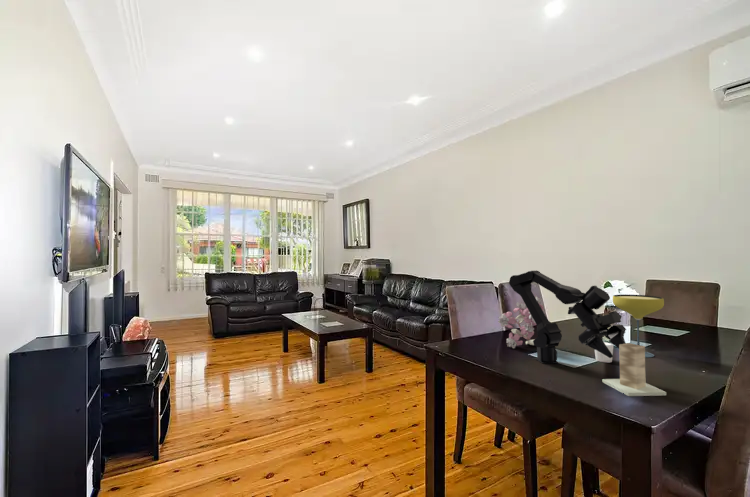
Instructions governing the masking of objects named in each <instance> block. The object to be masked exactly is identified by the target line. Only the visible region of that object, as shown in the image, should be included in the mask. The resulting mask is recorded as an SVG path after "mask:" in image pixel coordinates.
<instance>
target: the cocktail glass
mask: <svg viewBox="0 0 750 497" xmlns="http://www.w3.org/2000/svg"><path fill="white" fill-rule="evenodd" d="M612 304H613V305H614V306H615V307H616V308H618V309H620V310H622V311H624V312H626V313H627V314H629V315H631V316H632V317H633V318H634V320H636V325H637V326H636V327H637V328H636V332H637V335H636V337H637V339H636V345H640V323H639V322H640V321H641V320H643V318H644V317H645V316H648V315H649V314H652V313H656V312H658V311H660V310H662V309H663V308H664V307H665V306H664V305H665V300H664V298H663V297H661V296H656V295H655V296H654V295H646V294H614V295H613V296H612ZM654 357H655V354H653V353H651V352H648V351H645V359H647V358H648V359H649V358H654Z"/></svg>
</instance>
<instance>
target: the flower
mask: <svg viewBox="0 0 750 497" xmlns="http://www.w3.org/2000/svg"><path fill="white" fill-rule="evenodd" d="M534 296H535V298H536V300H537V302H538V303H539V305H540V307H541V309H542V310H543V311H544V305H542V304H541V303H542V297H538V296H537V295H534ZM516 306H517V307H515V308H514V309H513V312H512V311H507V312H504V313H502V314H501V316H498V317H497V318H498V321H497V322H498V324H500V326H501V327H502V328H503V327H506V328H508V329H511V330H510V331H511V332H509V334H508V338H506V345H507V347H509V348H511V349H516V346H522V345H523V342H524V341H523V340H520V338H522V337H523V338H524V339H526V341H525V345H530V346H534V343H533V340H535V339H536V338H534V339H531V338H532V337H533V336H534V335H535V331H534V330H535V328H534V326H537V325H536V323H535V321H534V319H533V317H532V316H531V314H530V312H529V310H528V308H527V306H526V305H525V303H523V302H516ZM513 313H514V314H516V313H518V315H517V316H516V317H514V316H513ZM524 322H525V323H524ZM522 323H524V324H523V325H522V326H521V324H522ZM516 324H517V326H518V327H519V329H517V328H514V326H513V325H516Z"/></svg>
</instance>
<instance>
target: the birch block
mask: <svg viewBox="0 0 750 497" xmlns="http://www.w3.org/2000/svg"><path fill="white" fill-rule="evenodd" d="M618 352H619V354H618V356H619V360H618V361H619V379H620V384H621V385H624V386H628V387H631V388H634V389H639V388H643V387H646V383H647V382H646V380H647V379H646V358H645V352H646V346H645V345H637V343H636V344H635V343H630V342H625V344H620V345H619V348H618Z"/></svg>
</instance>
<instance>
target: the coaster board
mask: <svg viewBox="0 0 750 497" xmlns="http://www.w3.org/2000/svg"><path fill="white" fill-rule="evenodd" d="M601 380H602V383H603V384H605V385H607V386H608V387H610V388H613V389H614V390H616V391H618V392H620V393H621V394H623V393H624V394H623V395H625V396H628V397H644V396H645V397H647V396H649V397H655V396H661V397H662V396H667V391H664V390H663V389H660V388H658V387H656V386H655V385H652V384H649V383H647V382H646V387H643V388H639V389H634V388H631V387H628V386H624V385H621V384H620V378H603V379H601Z"/></svg>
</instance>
